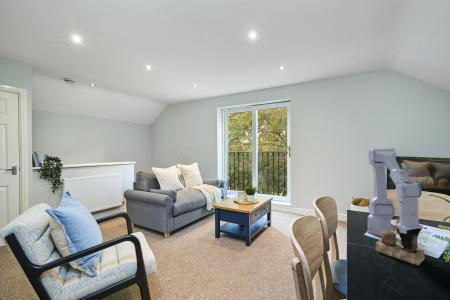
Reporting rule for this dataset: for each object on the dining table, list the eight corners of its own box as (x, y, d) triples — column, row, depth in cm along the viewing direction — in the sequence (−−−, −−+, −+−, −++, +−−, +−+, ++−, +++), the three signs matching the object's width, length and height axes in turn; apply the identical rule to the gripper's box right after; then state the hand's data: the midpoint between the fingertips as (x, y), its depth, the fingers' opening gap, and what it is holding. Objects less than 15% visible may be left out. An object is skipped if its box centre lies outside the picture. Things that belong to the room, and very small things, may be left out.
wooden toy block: (375, 250, 90) (375, 232, 90) (382, 245, 94) (382, 228, 94) (418, 265, 79) (418, 244, 78) (424, 258, 83) (424, 239, 83)
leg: (415, 258, 80) (414, 239, 80) (399, 252, 85) (398, 234, 84) (420, 253, 83) (419, 235, 82) (404, 248, 87) (403, 231, 87)
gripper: (416, 219, 76) (416, 256, 76) (427, 211, 84) (428, 244, 84) (392, 214, 82) (393, 248, 82) (405, 207, 90) (406, 238, 90)
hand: (409, 246), depth 84 cm, fingers closed on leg, 5 cm apart
